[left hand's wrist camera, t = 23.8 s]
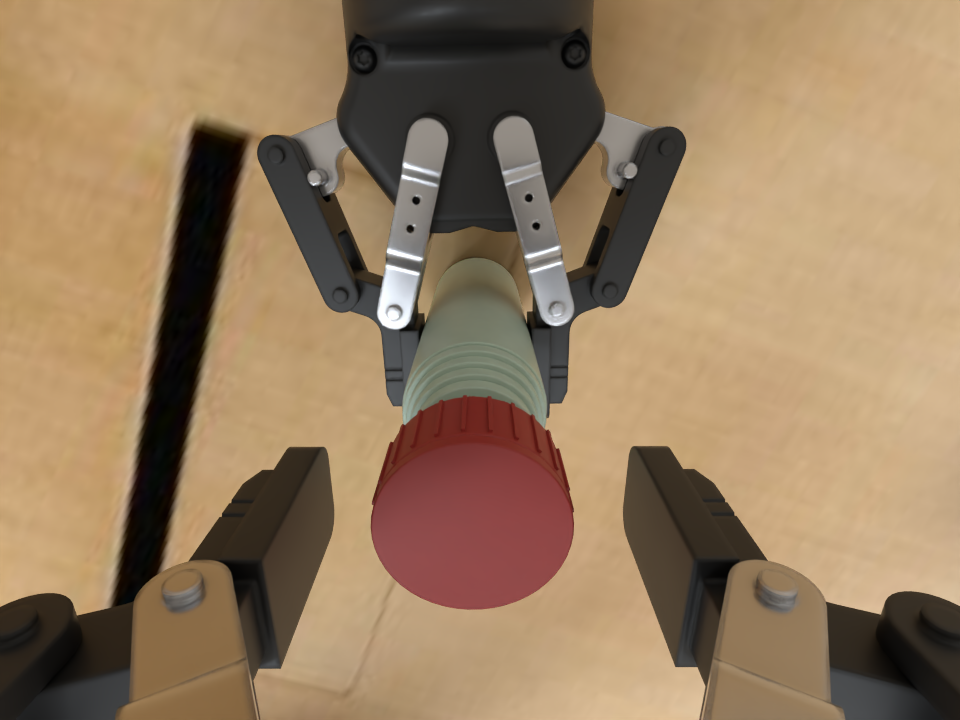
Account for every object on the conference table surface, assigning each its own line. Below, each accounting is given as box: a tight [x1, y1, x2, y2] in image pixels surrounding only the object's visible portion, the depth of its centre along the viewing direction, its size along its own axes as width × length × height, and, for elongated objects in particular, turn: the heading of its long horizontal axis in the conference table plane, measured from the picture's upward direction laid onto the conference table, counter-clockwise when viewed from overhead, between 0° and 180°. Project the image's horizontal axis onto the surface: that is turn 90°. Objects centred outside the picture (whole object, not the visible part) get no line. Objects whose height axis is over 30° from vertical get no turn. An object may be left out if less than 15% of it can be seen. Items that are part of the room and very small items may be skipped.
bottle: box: [402, 258, 547, 429], centre depth 19 cm, size 4×4×17 cm
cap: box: [371, 395, 574, 610], centre depth 11 cm, size 4×4×2 cm
